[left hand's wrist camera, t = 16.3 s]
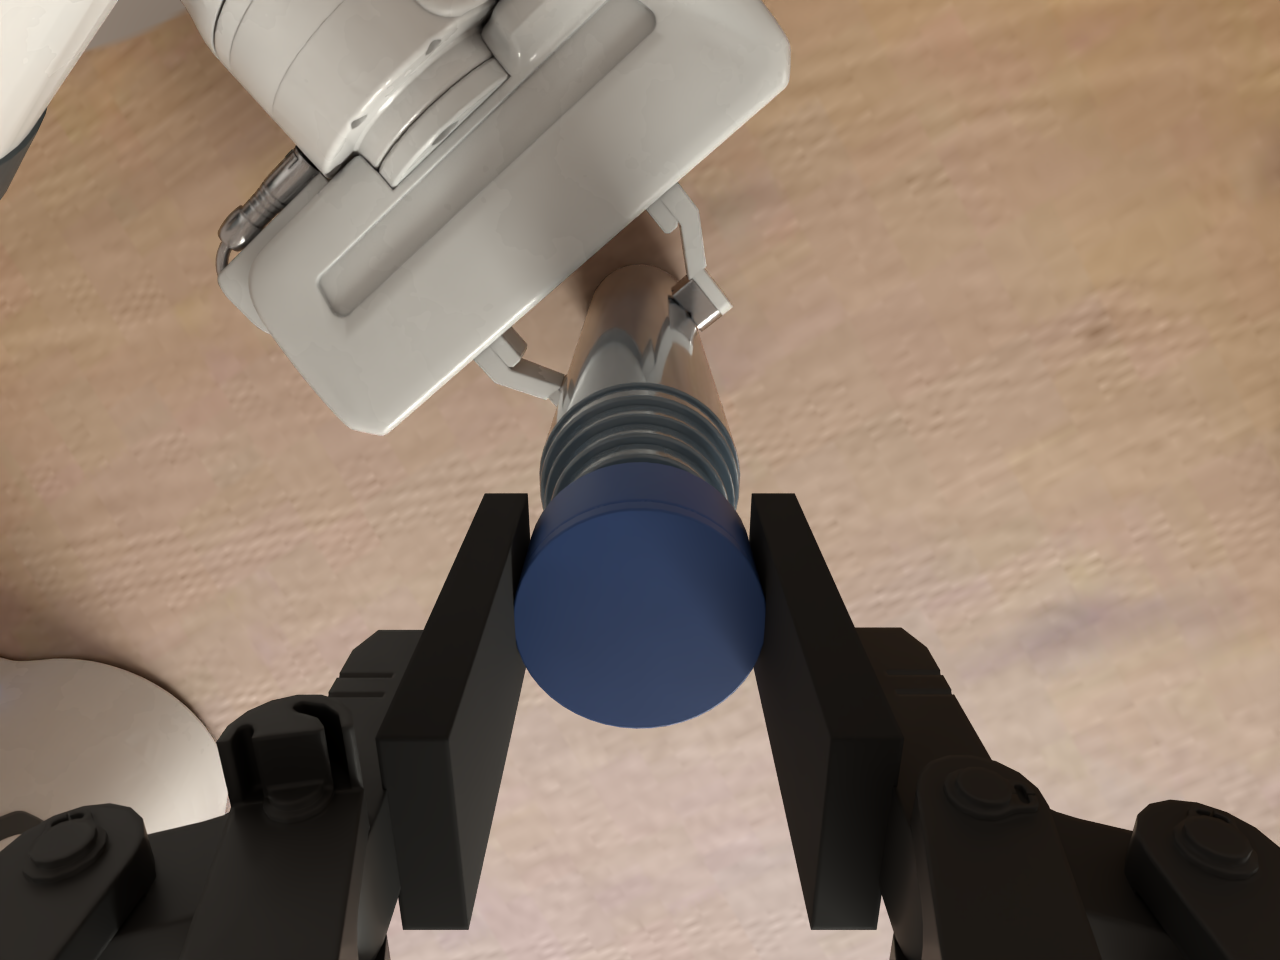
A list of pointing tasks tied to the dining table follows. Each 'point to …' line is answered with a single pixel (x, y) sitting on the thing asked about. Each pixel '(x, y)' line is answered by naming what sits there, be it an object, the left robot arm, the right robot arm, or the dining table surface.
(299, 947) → the left robot arm
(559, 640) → the cap
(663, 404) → the bottle
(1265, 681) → the dining table surface
